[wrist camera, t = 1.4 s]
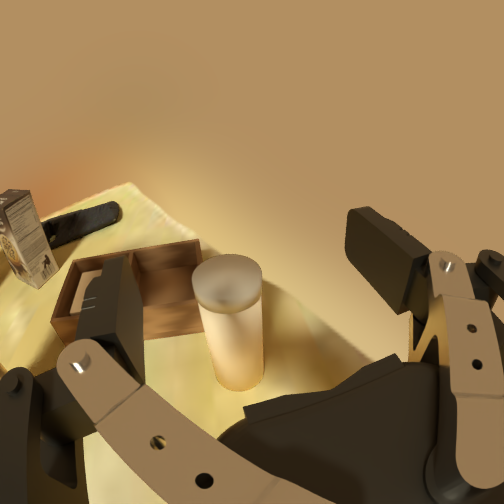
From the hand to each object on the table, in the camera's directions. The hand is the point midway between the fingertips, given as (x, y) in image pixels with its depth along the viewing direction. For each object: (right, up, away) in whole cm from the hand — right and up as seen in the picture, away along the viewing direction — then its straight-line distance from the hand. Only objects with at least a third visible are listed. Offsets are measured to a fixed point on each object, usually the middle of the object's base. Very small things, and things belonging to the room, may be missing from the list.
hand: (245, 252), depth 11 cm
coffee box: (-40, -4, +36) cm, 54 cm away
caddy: (-16, -7, +29) cm, 34 cm away
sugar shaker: (-1, -13, +21) cm, 24 cm away
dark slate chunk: (-39, +5, +50) cm, 64 cm away
